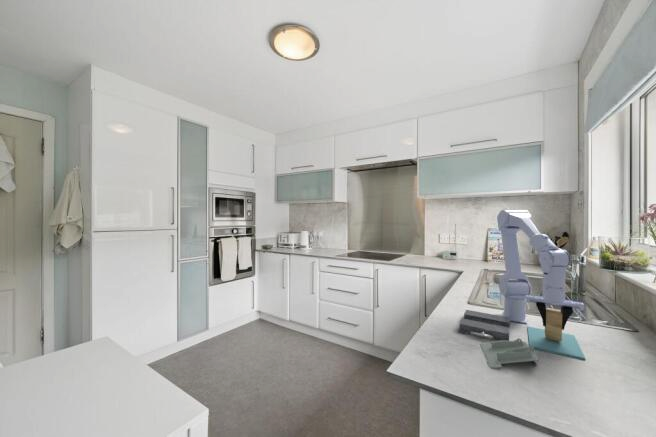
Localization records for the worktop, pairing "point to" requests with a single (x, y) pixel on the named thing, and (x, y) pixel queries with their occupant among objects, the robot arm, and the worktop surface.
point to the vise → (485, 325)
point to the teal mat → (555, 343)
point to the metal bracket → (507, 352)
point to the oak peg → (553, 324)
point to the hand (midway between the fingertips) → (553, 327)
